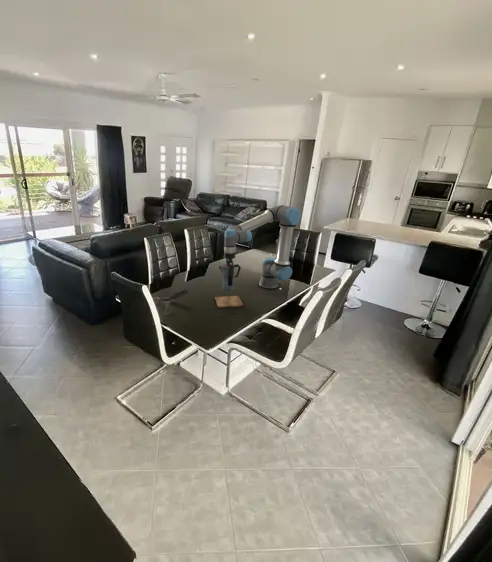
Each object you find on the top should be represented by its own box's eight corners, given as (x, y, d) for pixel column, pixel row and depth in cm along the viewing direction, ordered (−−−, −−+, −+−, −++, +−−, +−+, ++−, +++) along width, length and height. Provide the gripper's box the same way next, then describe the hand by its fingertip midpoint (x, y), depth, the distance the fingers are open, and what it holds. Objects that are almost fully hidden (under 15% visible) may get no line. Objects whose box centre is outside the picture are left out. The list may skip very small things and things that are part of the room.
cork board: (238, 297, 241) (238, 295, 240) (243, 306, 226) (243, 304, 225) (214, 298, 239) (214, 296, 238) (218, 307, 224) (218, 306, 224)
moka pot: (217, 286, 232) (217, 260, 225) (238, 285, 233) (239, 259, 226) (219, 291, 223) (219, 264, 216) (240, 290, 225) (242, 263, 217)
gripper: (221, 248, 228) (221, 278, 236) (227, 256, 208) (226, 289, 217) (232, 247, 228) (231, 277, 237) (238, 256, 209) (237, 288, 217)
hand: (229, 283), depth 227 cm, fingers closed on moka pot, 8 cm apart
